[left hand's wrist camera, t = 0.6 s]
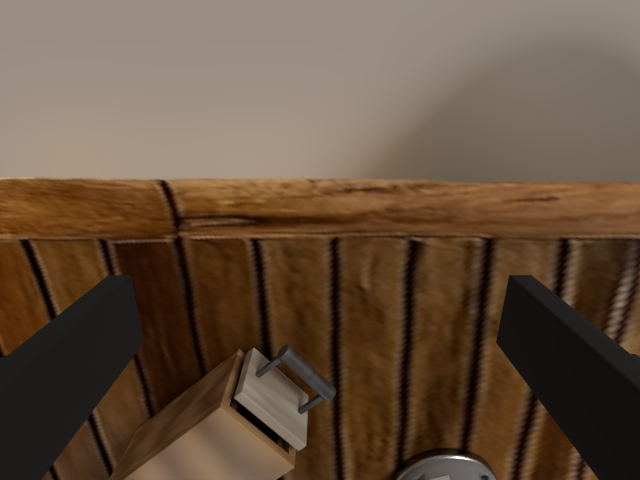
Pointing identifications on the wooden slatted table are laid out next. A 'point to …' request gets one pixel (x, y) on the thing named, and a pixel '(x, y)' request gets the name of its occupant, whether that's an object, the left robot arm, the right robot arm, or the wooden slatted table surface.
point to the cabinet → (204, 437)
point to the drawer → (278, 396)
